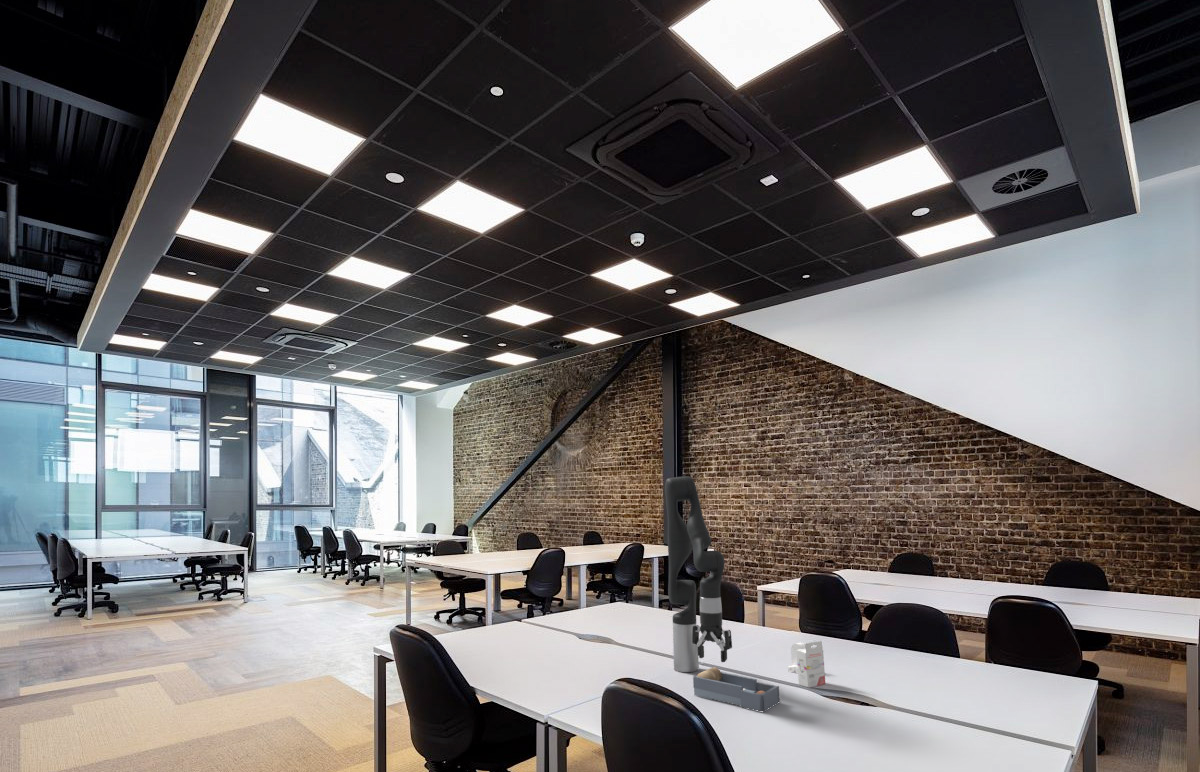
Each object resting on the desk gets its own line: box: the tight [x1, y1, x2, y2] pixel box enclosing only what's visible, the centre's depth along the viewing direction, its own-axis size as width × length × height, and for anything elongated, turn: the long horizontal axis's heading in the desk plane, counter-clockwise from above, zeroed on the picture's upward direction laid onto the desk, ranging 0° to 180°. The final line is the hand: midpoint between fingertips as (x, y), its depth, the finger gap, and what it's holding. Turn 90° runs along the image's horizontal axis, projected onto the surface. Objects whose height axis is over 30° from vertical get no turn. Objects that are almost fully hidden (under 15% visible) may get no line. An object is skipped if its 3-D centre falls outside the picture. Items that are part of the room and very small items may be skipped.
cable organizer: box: [787, 642, 806, 675], centre depth 241 cm, size 5×10×10 cm, turn 132°
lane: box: [692, 671, 781, 712], centre depth 209 cm, size 12×26×6 cm, turn 50°
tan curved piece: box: [696, 666, 722, 681], centre depth 215 cm, size 9×5×5 cm, turn 140°
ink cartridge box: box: [796, 640, 826, 689], centre depth 225 cm, size 9×5×15 cm, turn 117°
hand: (712, 659), depth 215 cm, fingers open, 8 cm apart
